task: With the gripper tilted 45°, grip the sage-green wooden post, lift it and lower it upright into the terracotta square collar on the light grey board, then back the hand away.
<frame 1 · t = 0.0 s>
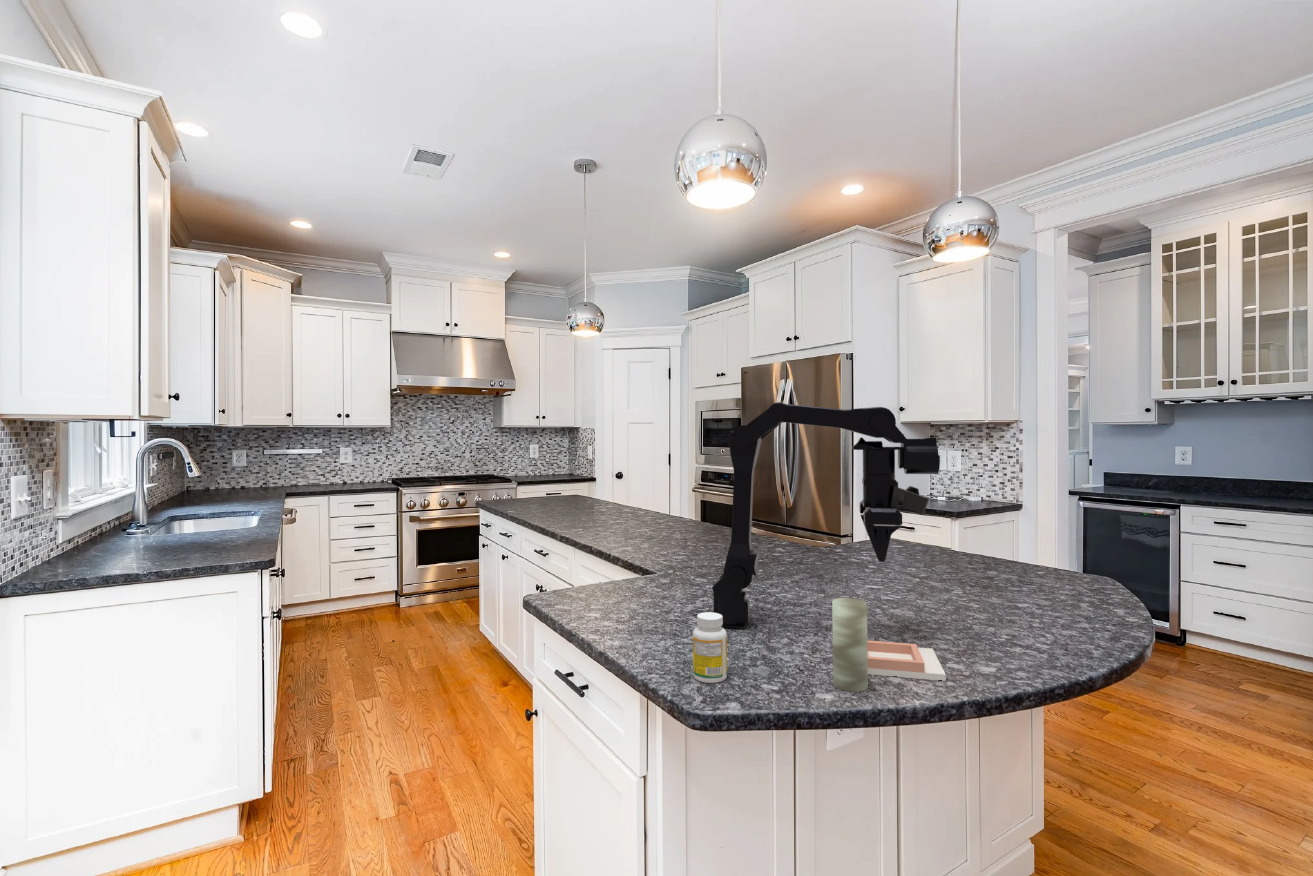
hand: (879, 556, 117), 15 cm above the counter, tool pointing down, fingers open, 9 cm apart
supplement bottle: (710, 678, 97), on the counter
post: (850, 685, 93), on the counter
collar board: (899, 663, 102), on the counter
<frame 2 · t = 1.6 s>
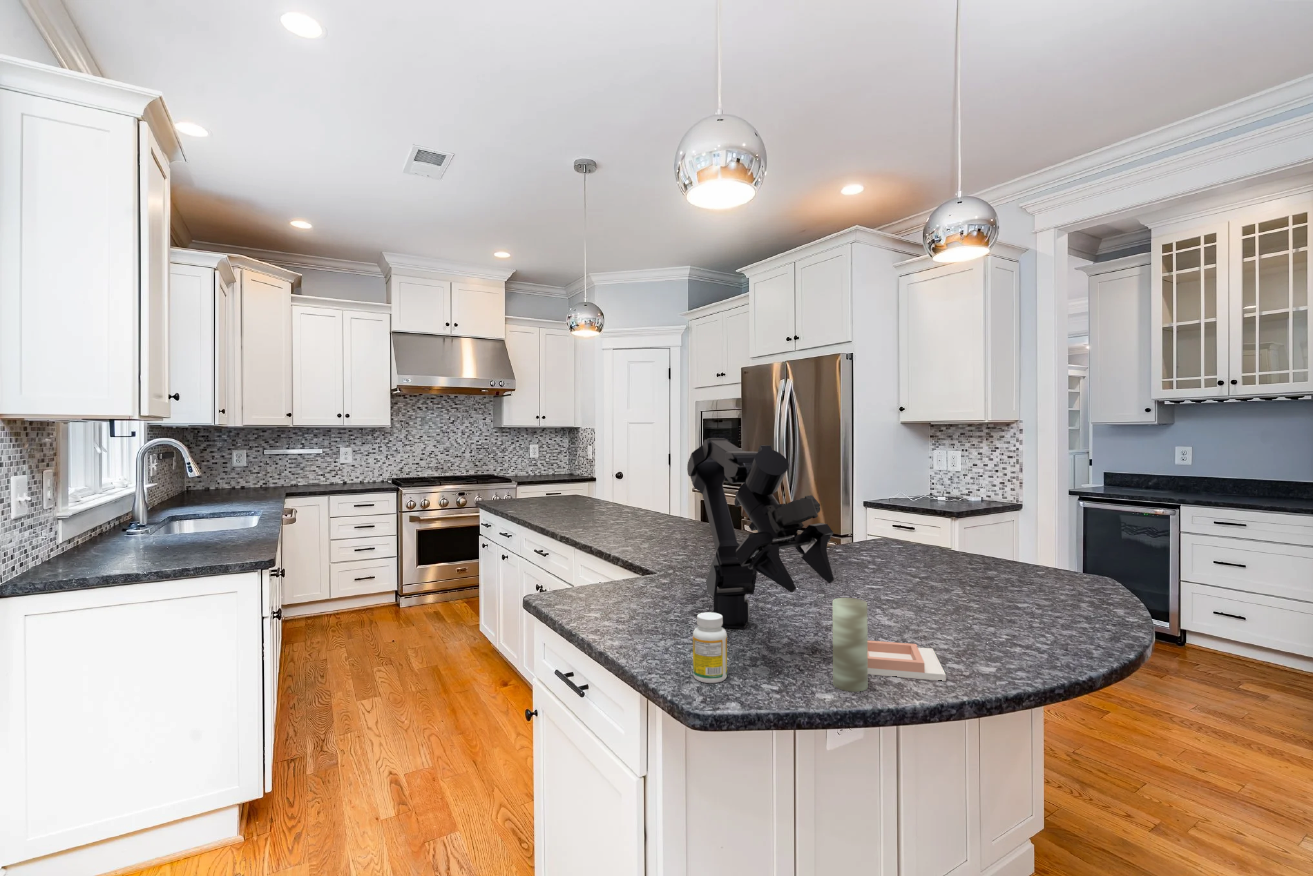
hand: (813, 586, 100), 13 cm above the counter, tool tilted 45°, fingers open, 9 cm apart
nothing on the counter moved.
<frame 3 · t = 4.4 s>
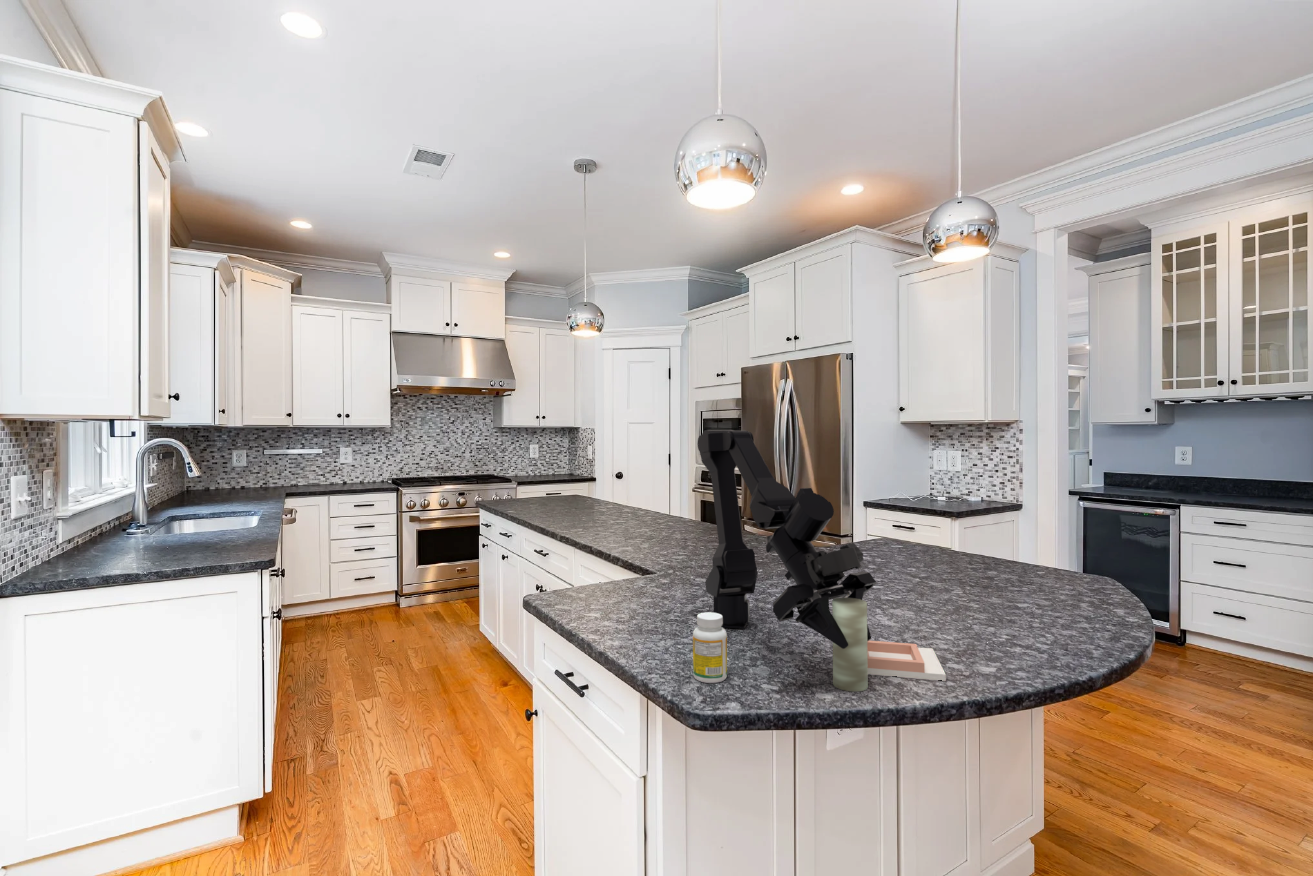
hand: (857, 643, 92), 7 cm above the counter, tool tilted 45°, fingers closed on post, 5 cm apart
post: (850, 685, 93), on the counter, touching gripper
everything else where it was.
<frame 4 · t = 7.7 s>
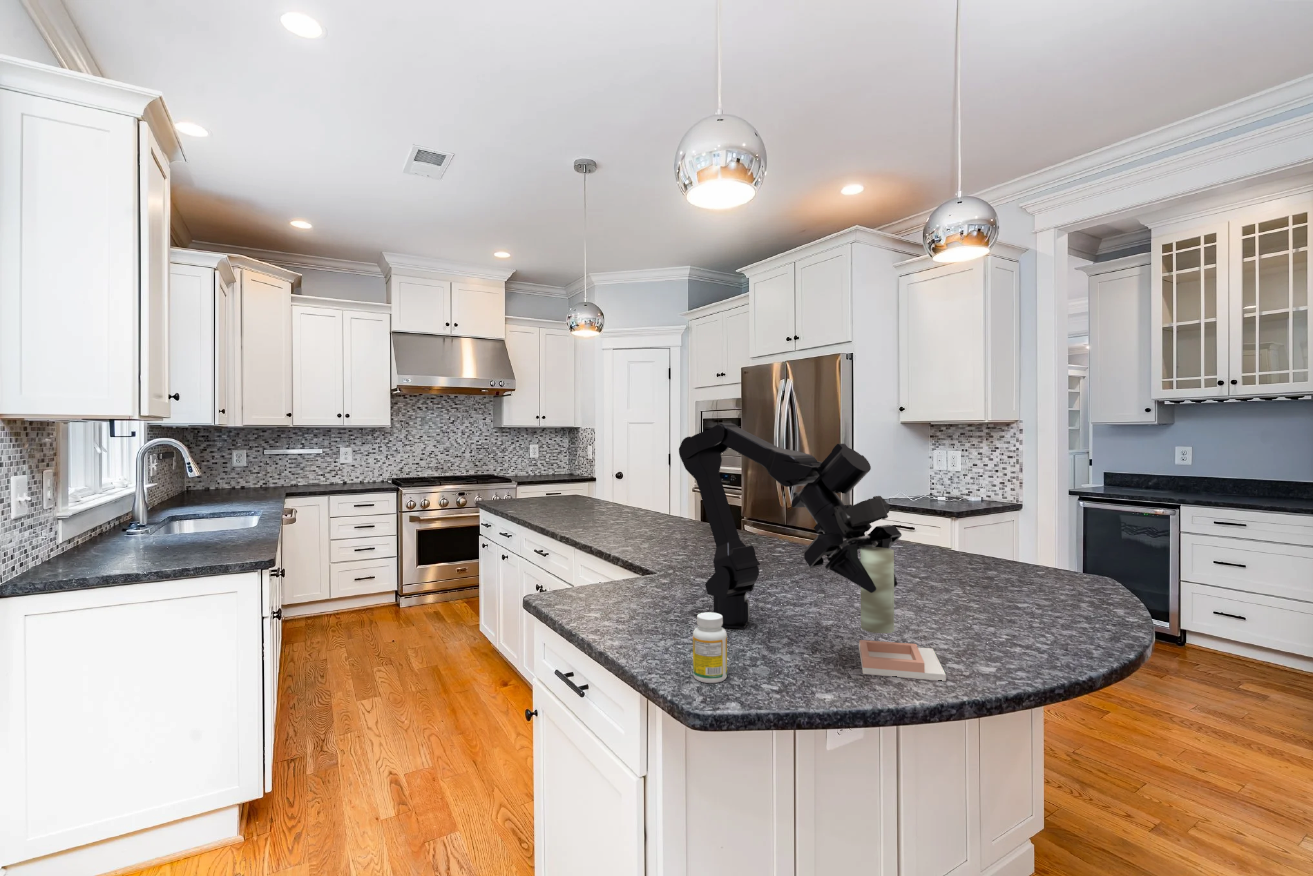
hand: (884, 588, 97), 13 cm above the counter, tool tilted 45°, fingers closed on post, 5 cm apart
post: (877, 628, 98), point 7 cm above the counter, touching gripper
everything else where it was.
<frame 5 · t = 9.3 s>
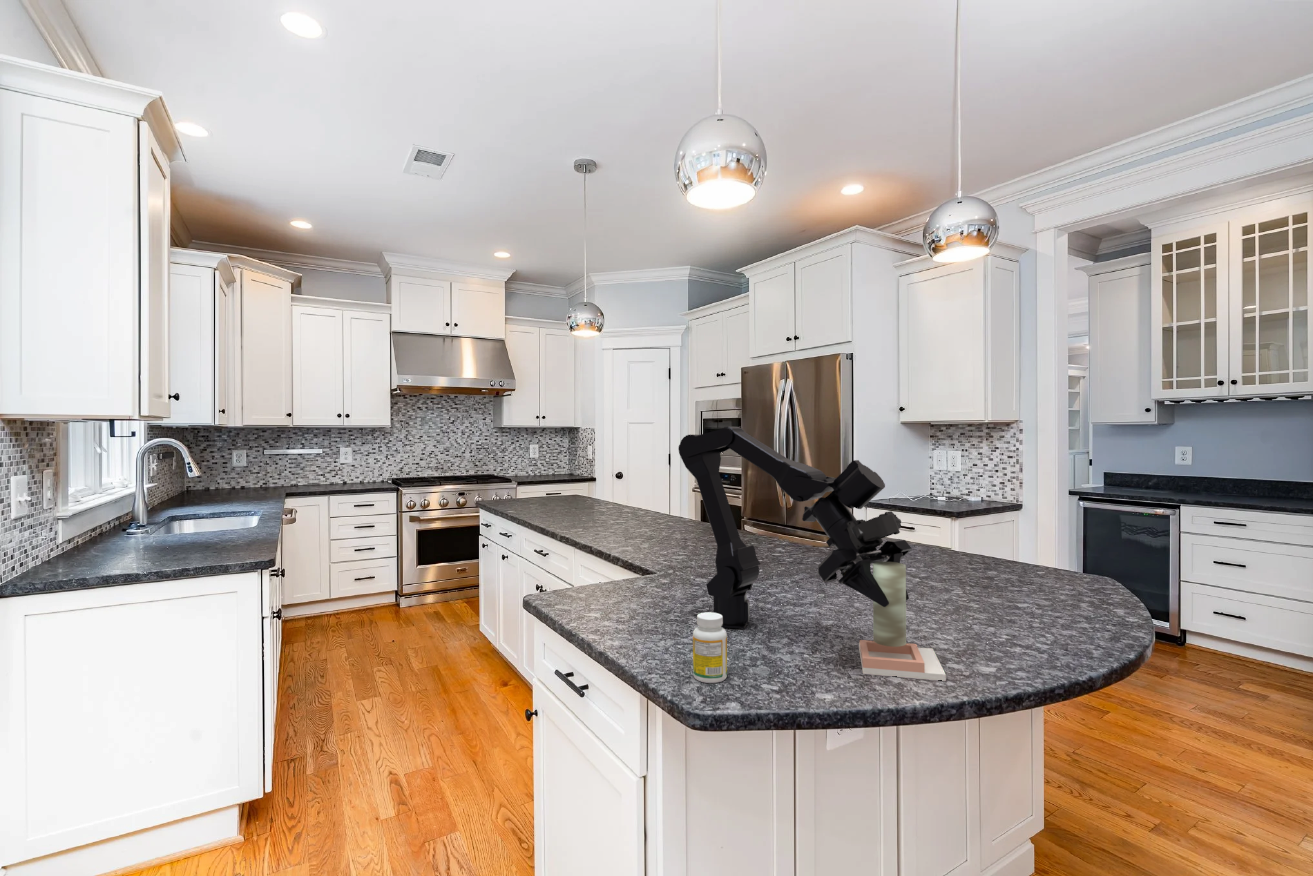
hand: (897, 602, 99), 11 cm above the counter, tool tilted 45°, fingers closed on post, 5 cm apart
post: (889, 641, 101), point 4 cm above the counter, touching gripper
everything else where it was.
when the fingers open (8 cm above the counter, at t = 10.7 s): post stays where it is, resting on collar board.
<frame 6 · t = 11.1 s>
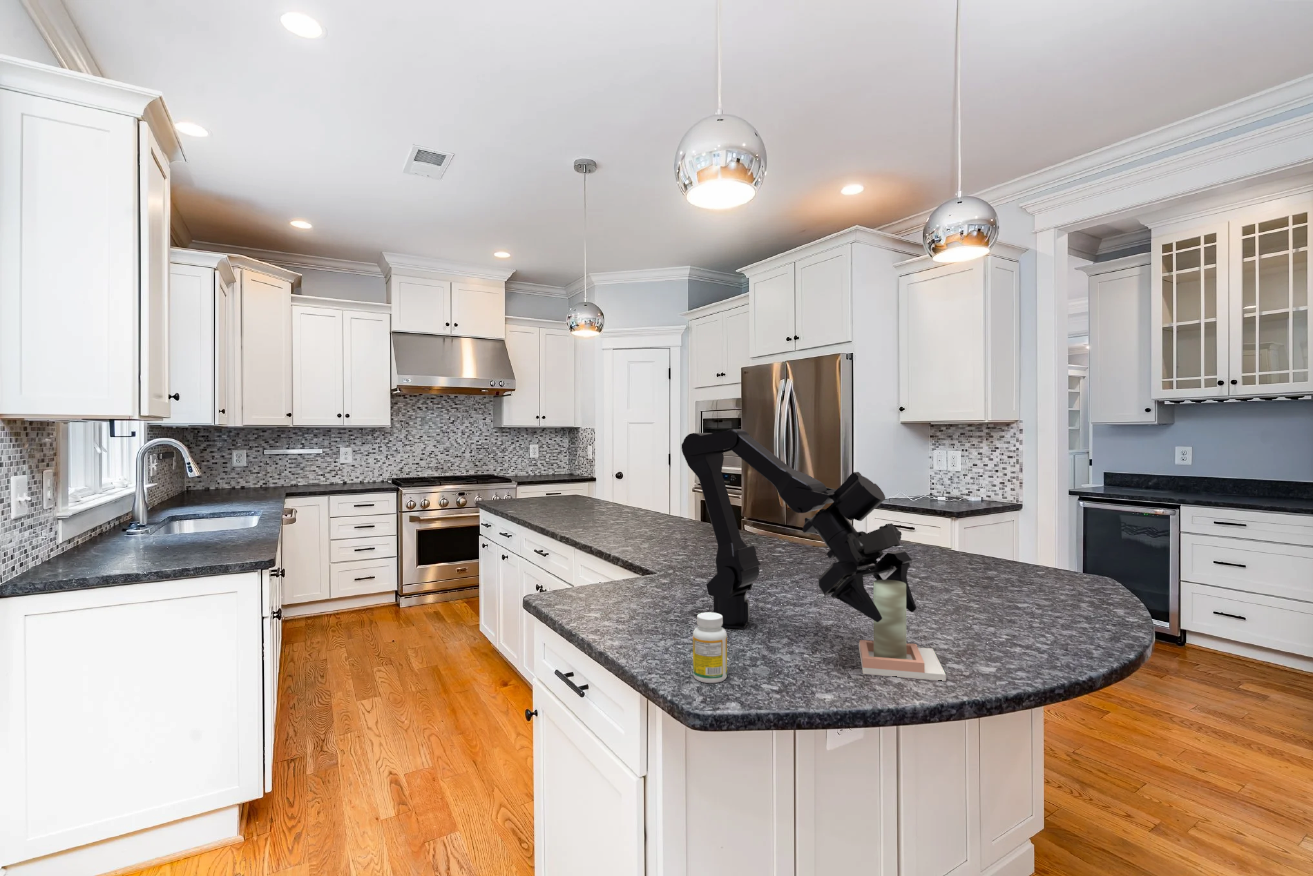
hand: (897, 615, 99), 9 cm above the counter, tool tilted 45°, fingers open, 9 cm apart
post: (889, 660, 101), point 1 cm above the counter, touching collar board
everything else where it was.
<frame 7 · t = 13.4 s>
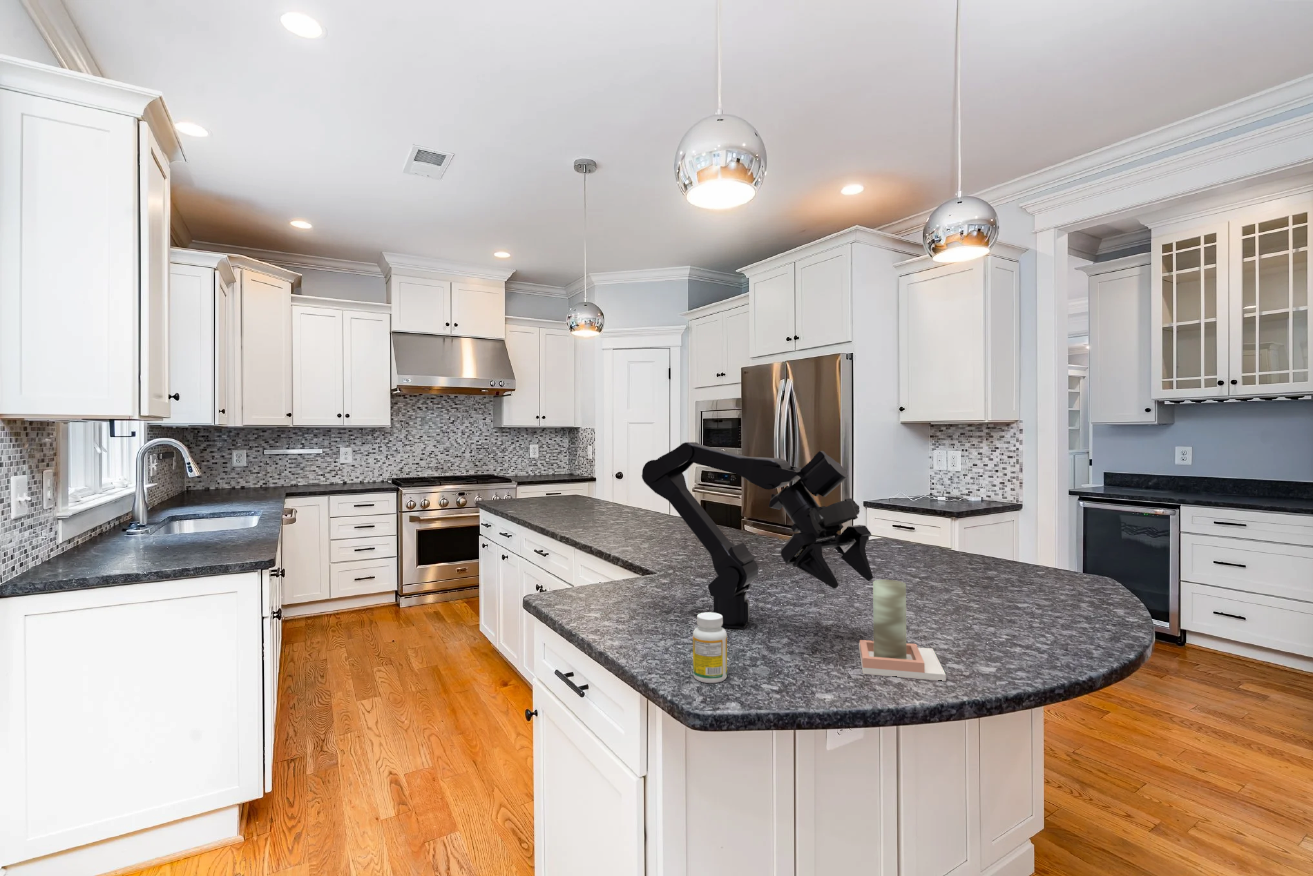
hand: (854, 583, 106), 12 cm above the counter, tool tilted 45°, fingers open, 9 cm apart
nothing on the counter moved.
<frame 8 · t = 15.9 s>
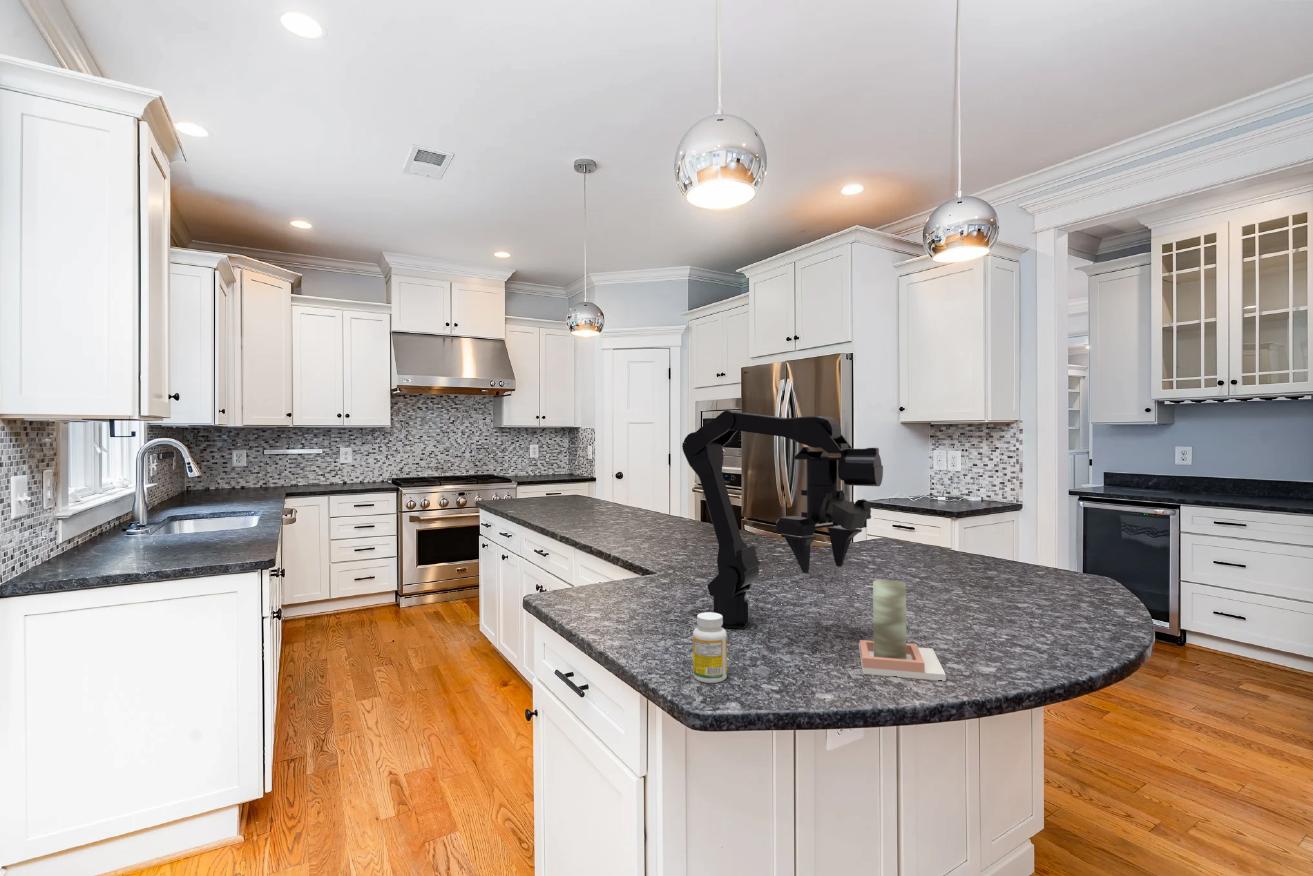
hand: (822, 569, 113), 13 cm above the counter, tool pointing down, fingers open, 9 cm apart
nothing on the counter moved.
at the end: post 0.1 cm from the target spot, point 1.0 cm above the counter; post tilted 0°; the gripper is holding nothing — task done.
